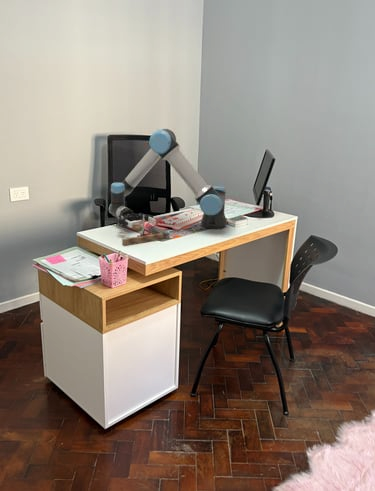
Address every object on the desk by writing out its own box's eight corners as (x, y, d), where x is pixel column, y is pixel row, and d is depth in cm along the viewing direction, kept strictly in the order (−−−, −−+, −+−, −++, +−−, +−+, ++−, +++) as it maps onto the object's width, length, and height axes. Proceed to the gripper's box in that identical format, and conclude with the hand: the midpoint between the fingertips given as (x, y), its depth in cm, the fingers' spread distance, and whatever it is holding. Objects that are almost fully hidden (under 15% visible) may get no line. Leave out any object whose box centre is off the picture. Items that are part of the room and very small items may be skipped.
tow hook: (146, 234, 237) (135, 237, 230) (147, 211, 234) (136, 213, 226) (158, 237, 233) (148, 241, 225) (160, 213, 229) (149, 216, 222)
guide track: (154, 230, 243) (154, 225, 242) (169, 238, 230) (169, 233, 229) (110, 237, 229) (110, 231, 228) (124, 245, 216) (124, 240, 215)
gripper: (145, 218, 250) (164, 227, 234) (104, 223, 237) (121, 233, 220) (145, 205, 248) (164, 214, 231) (104, 210, 235) (121, 219, 218)
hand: (143, 223), depth 226 cm, fingers open, 13 cm apart
